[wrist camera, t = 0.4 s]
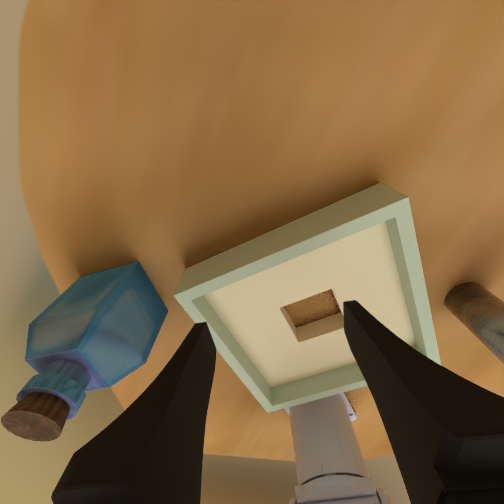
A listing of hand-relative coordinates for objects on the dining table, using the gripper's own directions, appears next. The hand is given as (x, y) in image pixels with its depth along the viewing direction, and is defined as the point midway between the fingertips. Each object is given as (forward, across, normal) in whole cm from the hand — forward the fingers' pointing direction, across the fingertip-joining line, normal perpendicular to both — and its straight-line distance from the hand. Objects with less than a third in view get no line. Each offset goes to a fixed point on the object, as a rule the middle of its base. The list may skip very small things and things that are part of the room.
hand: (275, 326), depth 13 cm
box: (+10, -3, +8) cm, 13 cm away
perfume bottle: (+10, +15, +3) cm, 18 cm away
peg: (+10, -18, +10) cm, 23 cm away
